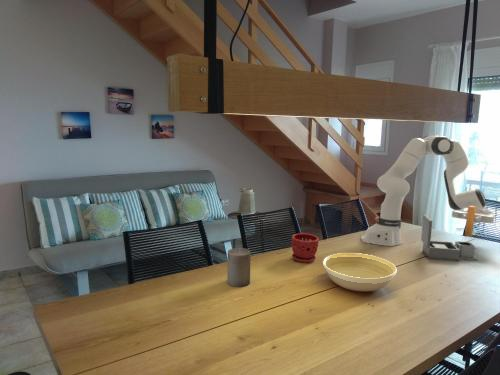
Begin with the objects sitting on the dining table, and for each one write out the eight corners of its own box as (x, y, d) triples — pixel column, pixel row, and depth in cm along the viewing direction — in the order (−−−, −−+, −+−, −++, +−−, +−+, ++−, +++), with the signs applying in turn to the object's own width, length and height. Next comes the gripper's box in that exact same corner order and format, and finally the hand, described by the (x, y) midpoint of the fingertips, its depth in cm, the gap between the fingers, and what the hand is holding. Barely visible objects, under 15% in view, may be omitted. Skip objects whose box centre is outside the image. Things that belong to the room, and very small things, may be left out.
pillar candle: (252, 279, 165) (253, 246, 163) (246, 288, 156) (247, 253, 153) (231, 277, 167) (231, 243, 165) (223, 285, 158) (224, 250, 156)
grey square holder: (456, 258, 197) (457, 245, 196) (450, 252, 207) (451, 240, 206) (477, 260, 195) (478, 247, 194) (470, 254, 205) (471, 241, 204)
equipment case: (426, 258, 196) (429, 220, 193) (420, 250, 210) (423, 214, 207) (458, 261, 193) (462, 222, 190) (450, 252, 207) (453, 216, 204)
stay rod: (466, 236, 207) (469, 207, 204) (463, 234, 210) (467, 205, 208) (473, 236, 206) (476, 207, 204) (470, 234, 210) (474, 206, 207)
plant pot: (289, 263, 186) (290, 239, 185) (293, 254, 199) (293, 232, 197) (316, 265, 183) (317, 241, 182) (318, 257, 196) (319, 234, 194)
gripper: (455, 206, 223) (449, 209, 212) (496, 212, 210) (492, 215, 199) (453, 216, 224) (448, 220, 213) (495, 223, 211) (491, 227, 200)
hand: (470, 218), depth 206 cm, fingers closed on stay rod, 4 cm apart
